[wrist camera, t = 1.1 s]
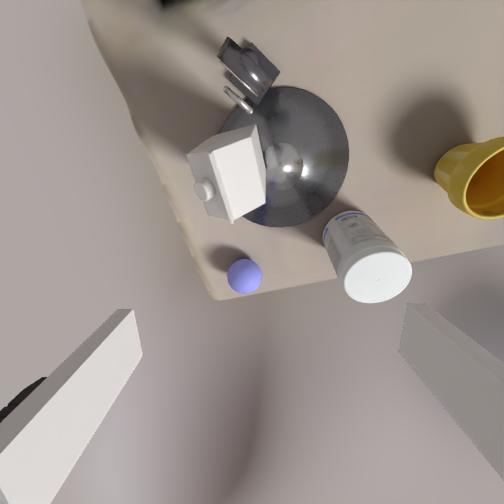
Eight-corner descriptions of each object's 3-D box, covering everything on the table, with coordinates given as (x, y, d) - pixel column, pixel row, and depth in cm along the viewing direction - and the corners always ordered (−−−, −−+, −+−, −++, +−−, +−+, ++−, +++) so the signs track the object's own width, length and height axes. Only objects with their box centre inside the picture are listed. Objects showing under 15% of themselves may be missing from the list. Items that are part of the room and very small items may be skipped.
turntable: (190, 177, 42) (189, 177, 42) (273, 47, 32) (273, 46, 32) (284, 246, 49) (284, 247, 48) (377, 156, 39) (378, 156, 38)
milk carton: (256, 123, 37) (248, 143, 21) (265, 170, 40) (265, 217, 24) (212, 135, 38) (172, 163, 22) (225, 179, 41) (200, 231, 25)
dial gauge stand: (227, 84, 34) (199, 75, 20) (251, 43, 32) (240, -3, 17) (254, 110, 36) (248, 118, 21) (280, 72, 34) (292, 53, 19)
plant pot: (502, 120, 35) (573, 128, 27) (485, 188, 41) (541, 211, 32) (425, 140, 37) (470, 152, 29) (418, 202, 43) (455, 227, 34)
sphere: (228, 276, 54) (224, 299, 48) (230, 250, 50) (225, 271, 44) (260, 280, 54) (259, 302, 48) (264, 254, 50) (263, 275, 44)
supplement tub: (349, 259, 50) (377, 313, 37) (311, 240, 48) (327, 290, 35) (384, 222, 45) (429, 270, 33) (343, 198, 43) (376, 240, 30)
